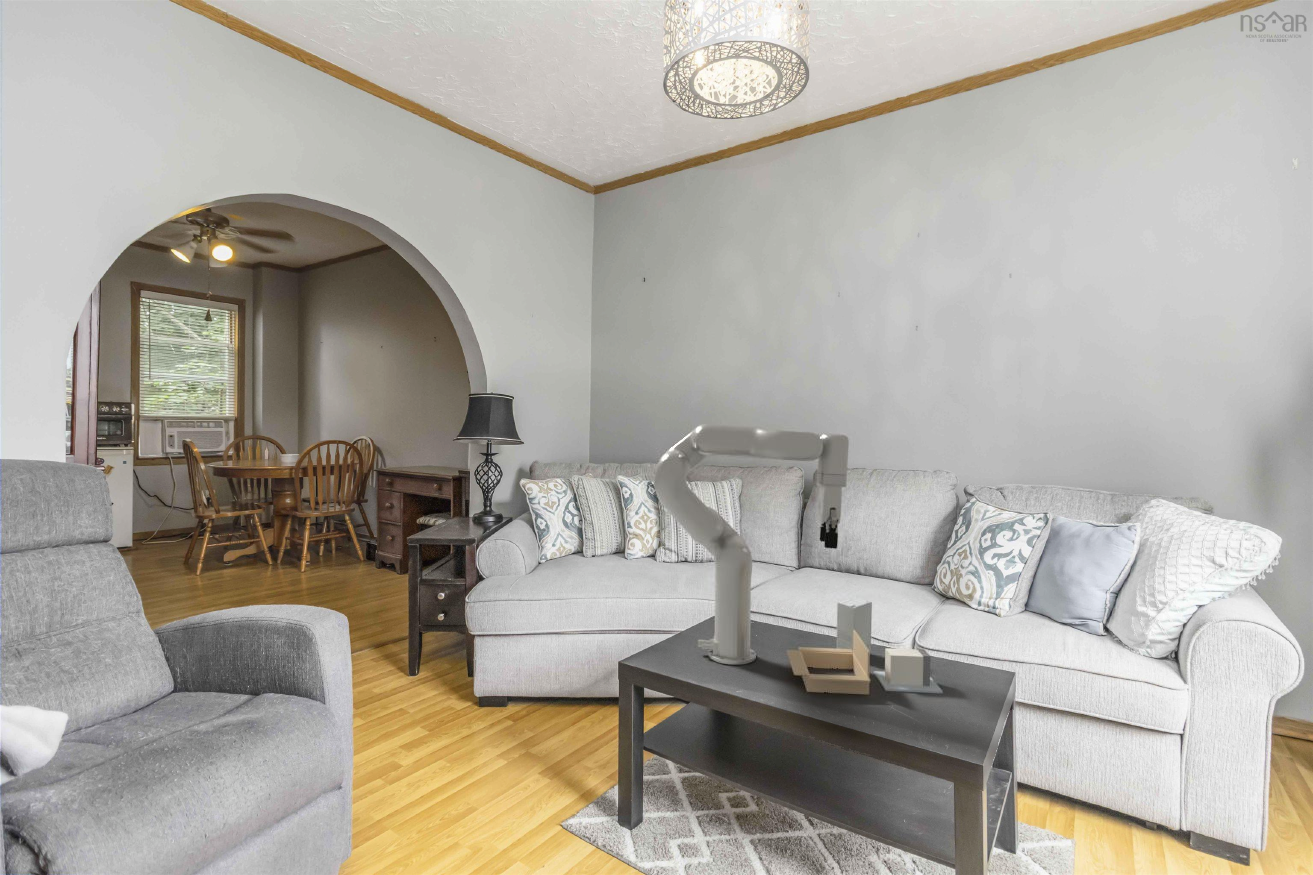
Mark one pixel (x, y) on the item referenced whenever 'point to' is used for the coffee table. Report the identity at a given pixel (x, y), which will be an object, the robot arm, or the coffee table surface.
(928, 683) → the box
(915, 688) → the felt mat
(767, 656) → the coffee table surface
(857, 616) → the skincare box
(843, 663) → the carton
